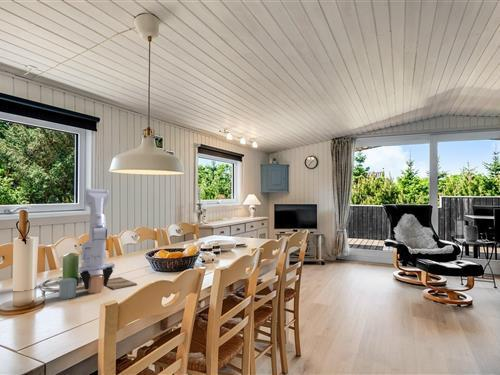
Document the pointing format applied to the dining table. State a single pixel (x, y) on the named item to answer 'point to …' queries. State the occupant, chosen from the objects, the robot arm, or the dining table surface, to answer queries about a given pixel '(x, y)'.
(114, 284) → the walnut board
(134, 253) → the dining table surface
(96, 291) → the terracotta cup
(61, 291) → the slate blue cup
